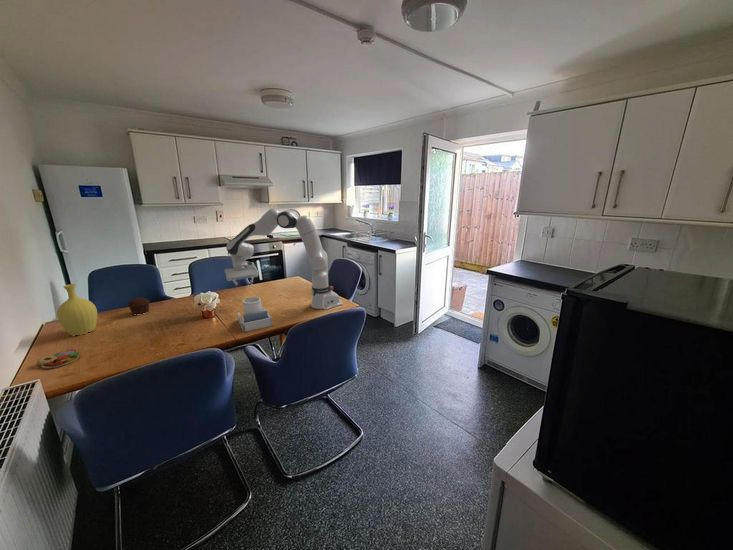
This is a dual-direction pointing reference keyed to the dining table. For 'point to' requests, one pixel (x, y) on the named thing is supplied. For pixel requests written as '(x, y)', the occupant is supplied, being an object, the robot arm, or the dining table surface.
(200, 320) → the dining table surface
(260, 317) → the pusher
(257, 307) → the jar
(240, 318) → the open storage bin
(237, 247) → the robot arm
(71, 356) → the toy food set
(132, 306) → the muffin
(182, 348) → the dining table surface
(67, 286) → the vase
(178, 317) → the dining table surface
